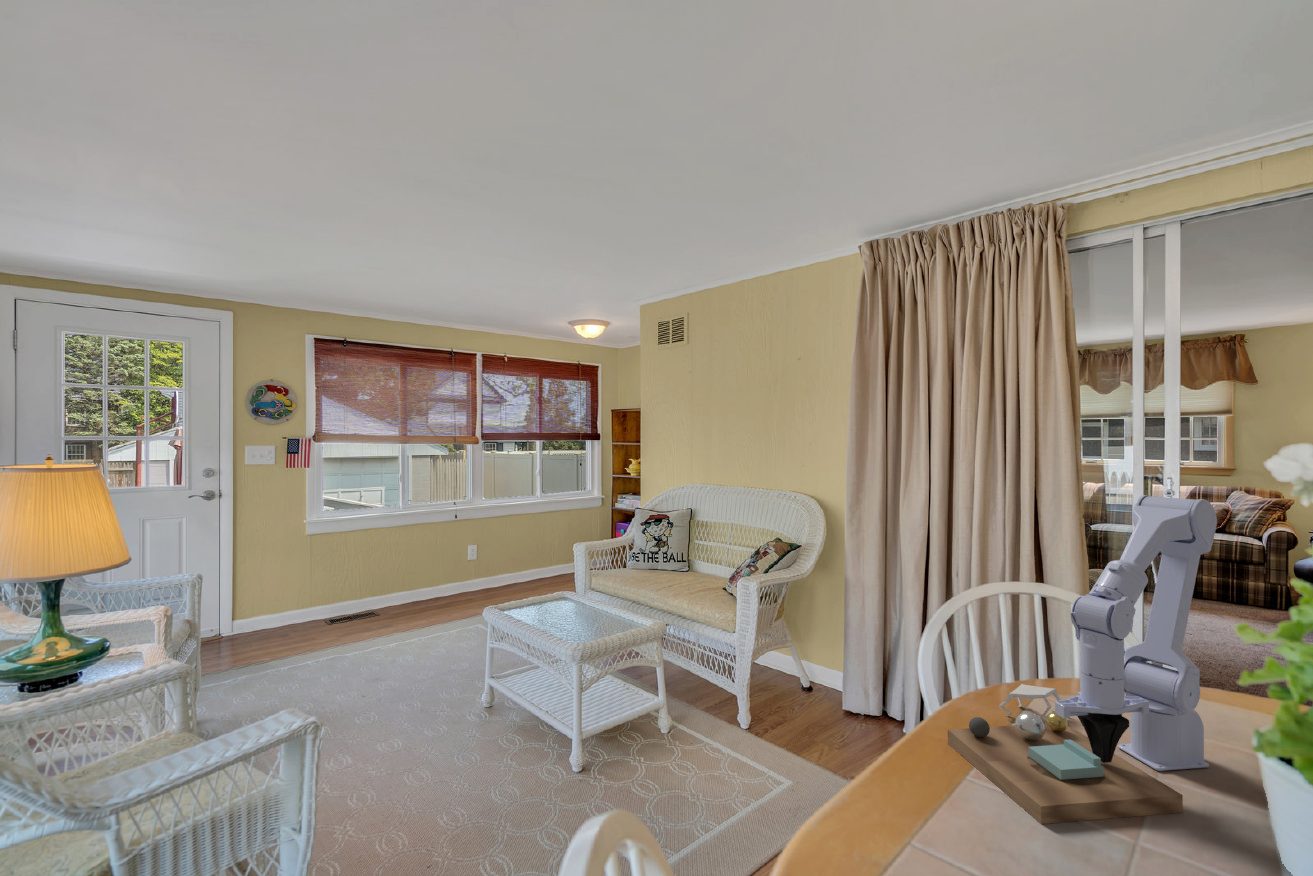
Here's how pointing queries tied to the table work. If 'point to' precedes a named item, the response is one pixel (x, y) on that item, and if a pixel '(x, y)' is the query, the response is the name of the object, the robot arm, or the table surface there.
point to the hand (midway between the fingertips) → (1102, 759)
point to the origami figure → (1031, 696)
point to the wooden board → (1056, 798)
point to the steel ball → (1030, 726)
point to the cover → (1067, 760)
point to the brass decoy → (1056, 722)
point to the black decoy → (979, 727)
